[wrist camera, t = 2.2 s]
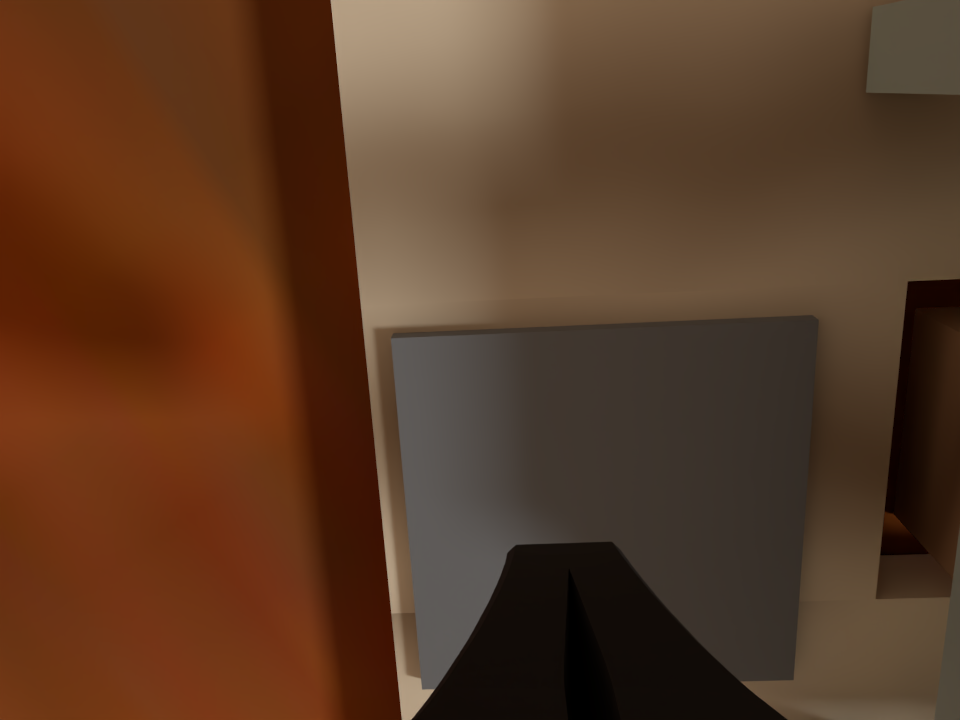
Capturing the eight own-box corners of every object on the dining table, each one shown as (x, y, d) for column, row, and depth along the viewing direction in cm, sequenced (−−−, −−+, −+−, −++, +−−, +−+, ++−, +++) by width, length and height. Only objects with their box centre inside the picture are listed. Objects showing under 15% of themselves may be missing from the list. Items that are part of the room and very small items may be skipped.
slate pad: (788, 669, 16) (793, 680, 16) (423, 678, 17) (421, 689, 16) (812, 315, 14) (818, 319, 14) (393, 333, 14) (390, 338, 14)
